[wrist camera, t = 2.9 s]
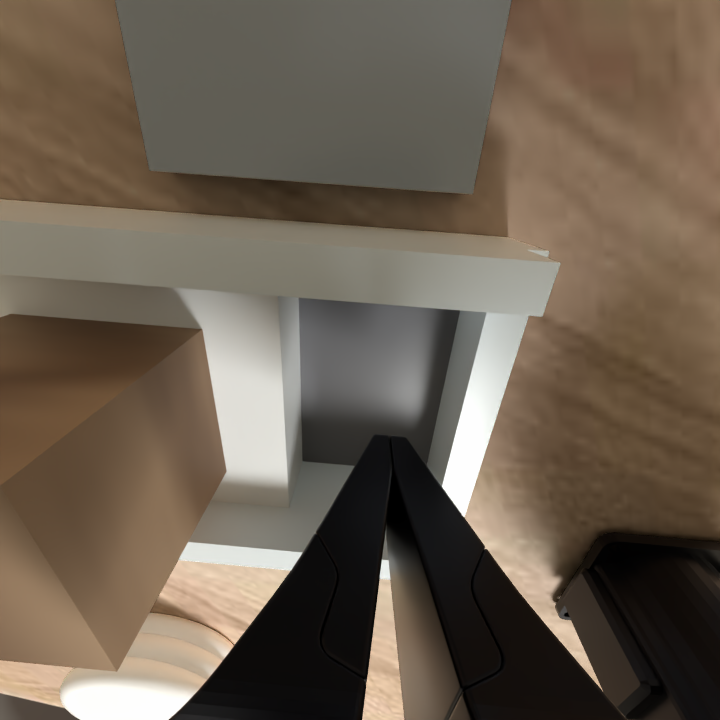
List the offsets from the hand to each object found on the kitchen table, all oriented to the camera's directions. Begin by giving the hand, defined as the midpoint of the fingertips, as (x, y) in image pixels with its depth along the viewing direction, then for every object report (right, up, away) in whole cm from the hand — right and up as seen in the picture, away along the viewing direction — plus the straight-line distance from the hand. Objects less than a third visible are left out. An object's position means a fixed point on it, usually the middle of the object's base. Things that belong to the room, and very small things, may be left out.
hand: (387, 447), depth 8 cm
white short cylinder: (-14, -18, +14) cm, 27 cm away
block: (-7, +1, +1) cm, 8 cm away
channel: (-7, +2, +3) cm, 8 cm away
